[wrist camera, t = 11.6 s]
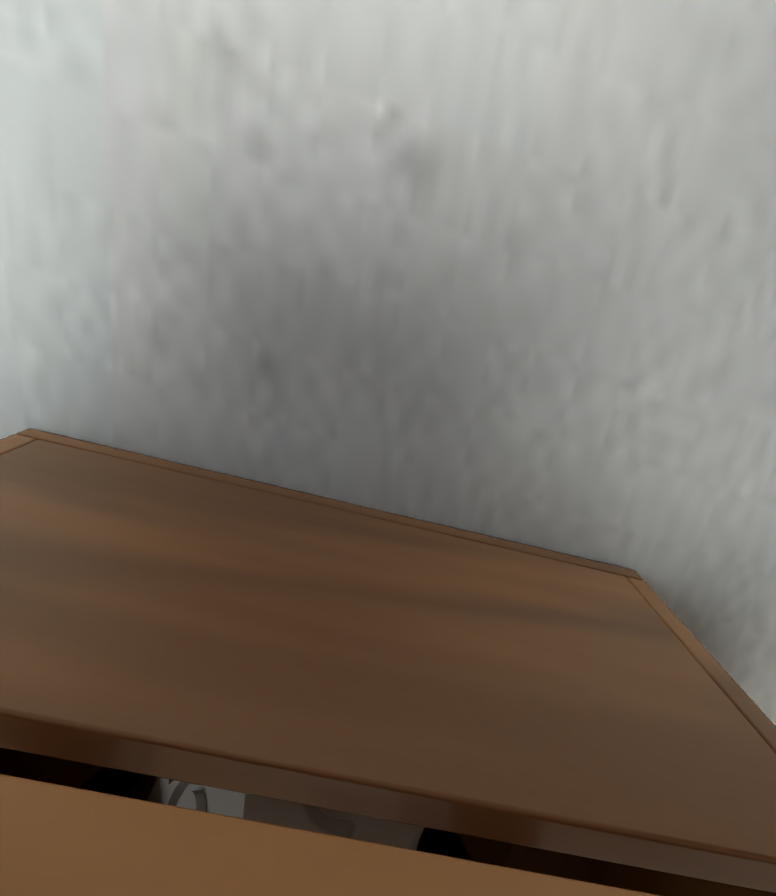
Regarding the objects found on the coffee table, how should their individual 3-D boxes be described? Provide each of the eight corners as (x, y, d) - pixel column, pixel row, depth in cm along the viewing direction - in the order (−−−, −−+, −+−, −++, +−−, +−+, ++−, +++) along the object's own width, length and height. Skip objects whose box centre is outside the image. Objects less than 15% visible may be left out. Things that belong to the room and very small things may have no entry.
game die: (191, 621, 8) (70, 827, 5) (447, 659, 8) (485, 879, 5) (174, 809, 8) (67, 1074, 6) (403, 838, 9) (411, 1109, 6)
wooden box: (29, 427, 10) (-681, 696, 3) (635, 569, 11) (1027, 1001, 4) (-2, 857, 13) (-406, 1450, 6) (475, 939, 13) (560, 1530, 7)
